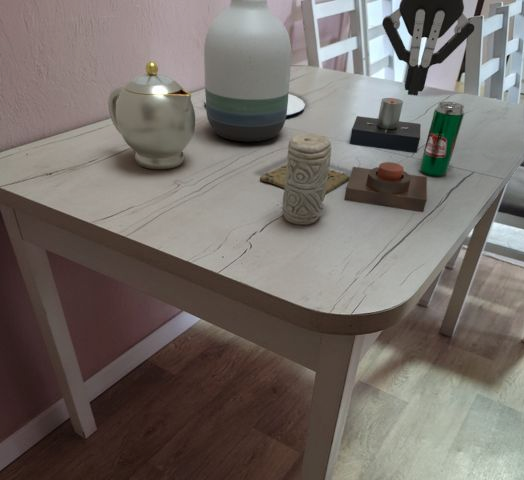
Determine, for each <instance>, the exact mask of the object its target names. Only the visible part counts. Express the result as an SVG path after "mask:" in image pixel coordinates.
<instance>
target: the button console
mask: <svg viewBox="0 0 524 480" xmlns="http://www.w3.org/2000/svg"><path fill="white" fill-rule="evenodd" d="M378 168H379V166H378V167H377V166H376V167H373V168H366V167H358V166H352V169H351V172H350V175H349V177H350V178H349V181H347V185H346V188H345V194H344V201H347V202H355V203H359V204H360V203H361V204H368V205H373V206H374V205H375V206H379V207H380V206H381V207H386V208H387V207H388V208H394V209H398V210H399V209H400V210H407V211H413V212H420V213H424V211H425V208H426V203H427V201H428V192H427V191H428V186H427V185H428V177H427V176H423V175H415V174H409V173H408V172H407V171H405V170H403V174H402V178H401V180H394V181H392V180H385V179H382V178H380V177H378V176H377V173H378Z"/></svg>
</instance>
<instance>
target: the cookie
mask: <svg viewBox="0 0 524 480" xmlns="http://www.w3.org/2000/svg"><path fill="white" fill-rule="evenodd" d="M287 165H288V163H285V165H283V166H282V165H281V166H280V167H278V168H276V169H274V170H272V171H269V172H266V173H265V174H263V175H261V176H259V181H261V182H266V183H269V184H273V185H275V186H278V187H280V188H282V189H285V185H286V184H285V181H286V175H287ZM349 178H350V175H347V174H345V173H343V172H340V171H336V170H331V169H329V172H328V179H327V185H326V192H325V195H327V194H328V193H330V192H332V191H334V190H335V189H337V188H338V187H341V186H342V185H343V184H345V183H348V181H349Z"/></svg>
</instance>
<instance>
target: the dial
mask: <svg viewBox="0 0 524 480" xmlns="http://www.w3.org/2000/svg"><path fill="white" fill-rule="evenodd" d="M403 105H404V100H402V99H400V98H395V97H384V98H382V99H381V101H380V106H379V112H378V117H377V119H378V122H377V126H378V127H380V128H384V129H396V128H397V127H398V123H399V121H400V118H401V113H402V109H403Z"/></svg>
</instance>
